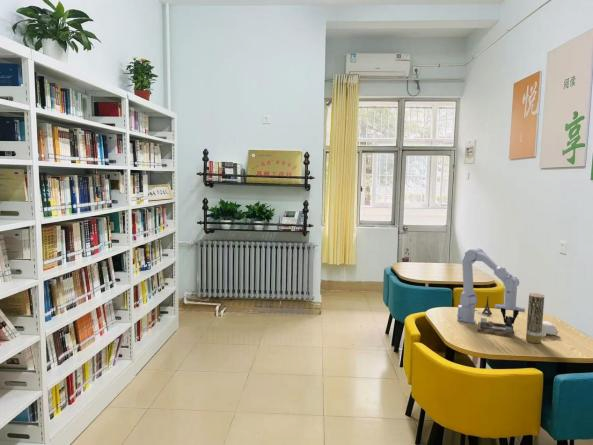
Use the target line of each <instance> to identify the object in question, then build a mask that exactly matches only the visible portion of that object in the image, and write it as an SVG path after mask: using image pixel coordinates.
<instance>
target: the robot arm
mask: <svg viewBox="0 0 593 445" xmlns="http://www.w3.org/2000/svg"><path fill="white" fill-rule="evenodd" d="M476 262H481V263H482V262H483V263H484V265H486V266H487V267H488V268H490V269H491V270H492V271H493V275H495V276H496V277H497V278H498V279H499V280H500V281H501V282H502V283H503V286H504V299H503V300H504V302H503V304H495V303H494V309H499V310H500V312H501V315H502V318H503V319H502V320H503V324H505V318H506V314H507V313H506V312H507V311H513V312H512V317H513V321H512V325H515V321H516V319H517V317H518V315H519V314H520V312H521V313H525V312H526V308H525V307H521V306H517V294H518V286H519V285H520V279H518V278H517V277H516V276H513V275H512V274H510V272H508V271H507V270H506V268H505V267H503V266H498V265H497V263H495V262H494V260H492V258H491V257H490V256H489V255H488V254H487V253H486V252H485V251H484V250H483V249H481V248H474V249H468V250H466V251H465V252H464V256H463V259H462V262H461V263H462V281H463V283H462V286H463V287H462V288H463V290H462V292H461V293H460V298H459V303H460V304H458V306H457V314H456V317H457V318H456V321H457V322H464V323H470V324H475V321H476V318H475V314H476V312H475V310H476V304H477V303H478V302H479V301H478V297H477V295H476V294H477V292H475V290H474V277H473V275H474V272H473V270H474V269H473V265H474V264H475V263H476Z"/></svg>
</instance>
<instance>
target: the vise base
mask: <svg viewBox="0 0 593 445" xmlns="http://www.w3.org/2000/svg"><path fill="white" fill-rule="evenodd" d="M487 320H488V319H487V317H481V318H480V321H478V322H477V327H476V330H477V331H476V332H478V333H484V334H490V335H495V336H501V337H502V336H503V337H507V338H508V337H509V338H512V339H513V338H514V337H515V331H514V324H512V330H506V329H505V323H498V322H494V321H492V320H488V321H487Z"/></svg>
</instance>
